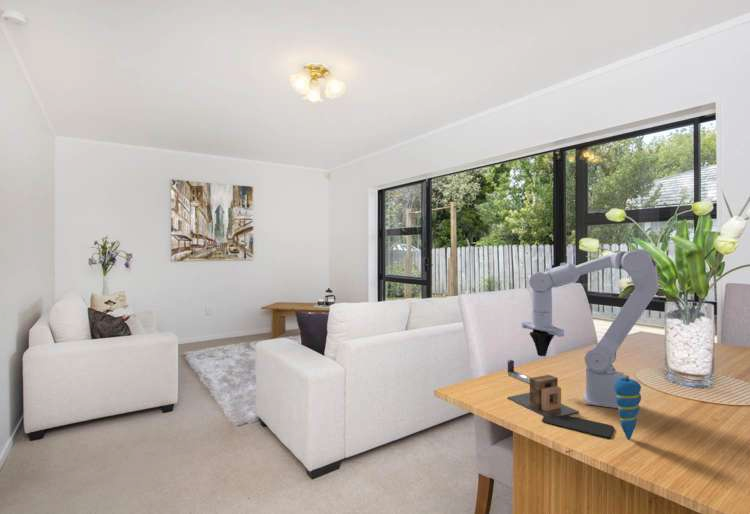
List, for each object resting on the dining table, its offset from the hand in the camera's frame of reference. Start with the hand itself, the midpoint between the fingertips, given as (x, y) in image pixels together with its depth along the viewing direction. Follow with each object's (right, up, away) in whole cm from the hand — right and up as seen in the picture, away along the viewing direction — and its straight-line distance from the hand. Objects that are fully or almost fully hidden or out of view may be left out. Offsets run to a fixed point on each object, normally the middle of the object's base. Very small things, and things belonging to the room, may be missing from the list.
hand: (541, 355), depth 119 cm
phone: (-2, -11, -24) cm, 27 cm away
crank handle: (-8, -6, -7) cm, 12 cm away
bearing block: (-5, -11, -13) cm, 17 cm away
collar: (-4, -10, -15) cm, 19 cm away
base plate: (-5, -11, -12) cm, 17 cm away
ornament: (+6, -11, -31) cm, 34 cm away
